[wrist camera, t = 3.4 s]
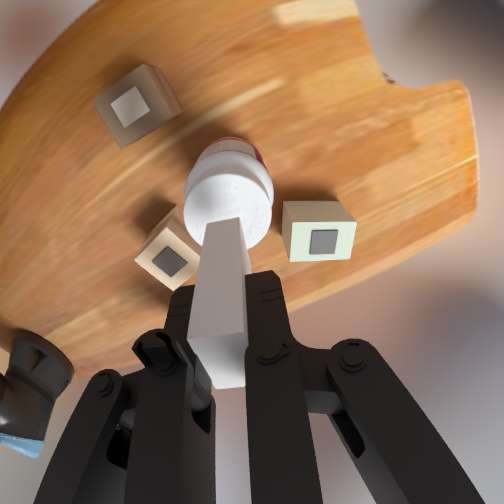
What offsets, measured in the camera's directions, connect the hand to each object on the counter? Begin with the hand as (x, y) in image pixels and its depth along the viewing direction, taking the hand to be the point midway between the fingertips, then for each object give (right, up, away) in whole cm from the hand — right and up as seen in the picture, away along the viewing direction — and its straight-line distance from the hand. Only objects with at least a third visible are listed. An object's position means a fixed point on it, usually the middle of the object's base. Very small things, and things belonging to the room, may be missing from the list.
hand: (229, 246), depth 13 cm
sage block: (+7, +3, +16) cm, 18 cm away
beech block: (-7, +2, +16) cm, 17 cm away
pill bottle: (-1, +8, +12) cm, 15 cm away
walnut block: (-8, +13, +8) cm, 18 cm away
